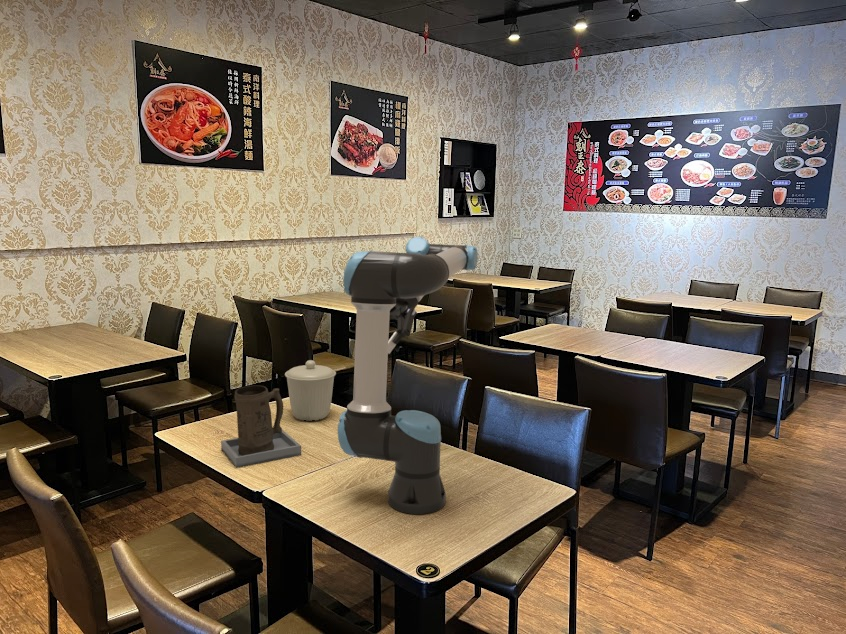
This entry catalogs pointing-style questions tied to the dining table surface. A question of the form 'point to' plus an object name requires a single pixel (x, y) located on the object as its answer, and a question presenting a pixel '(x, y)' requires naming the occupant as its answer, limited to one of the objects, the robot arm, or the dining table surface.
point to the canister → (310, 390)
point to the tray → (282, 449)
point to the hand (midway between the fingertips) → (372, 347)
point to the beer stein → (256, 418)
